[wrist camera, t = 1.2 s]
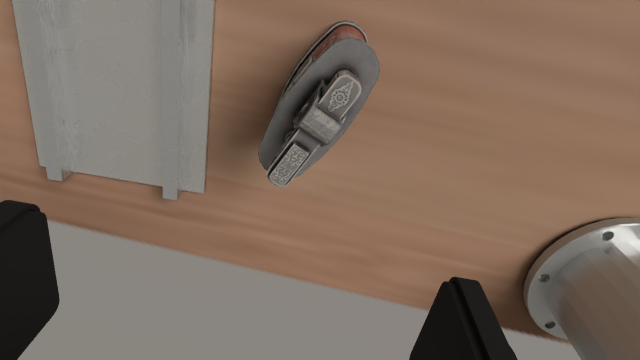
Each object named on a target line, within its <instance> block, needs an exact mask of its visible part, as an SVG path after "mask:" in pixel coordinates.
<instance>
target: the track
mask: <svg viewBox="0 0 640 360" xmlns="http://www.w3.org/2000/svg"><path fill="white" fill-rule="evenodd" d="M12 3H13V9H14V15H15V21H16V27H17V33H18V39H19V45H20V51H21V57H22V63H23V69H24V75H25V81H26V87H27V93H28V98H29V104H30V110H31V116H32V122H33V128H34V134H35V140H36V146H37V152H38V158H39V164H40V166H44V167H46V171H47V177H48V179H51V180H57V181H63V180H65V179H66V178H67V177H69V176H70V175H71V174H72V173H74V172H79V173H85V174H91V175H97V176H103V177H109V178H114V179H120V180H126V181H132V182H138V183H144V184H150V185H156V186H162V187H163V198H165V199H171V200H178V198H179V197H180V195H181V194H182V192H183V191H184V190H185V191H191V192H197V193H203V194H204V193H205V190H206V171H207V152H208V134H209V115H210V97H211V78H212V60H213V41H214V23H215V4H216V0H12Z"/></svg>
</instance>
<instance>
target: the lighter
mask: <svg viewBox="0 0 640 360" xmlns="http://www.w3.org/2000/svg"><path fill="white" fill-rule="evenodd" d="M379 72H380V67H379V61H378V58H377V56H376V54H375V52H374V50H373V49H372V48H371V47H370V46H369V44H368V40H367V37H366V35H365V33H364V31H363V30H362V29H361V28H360V27H359V25H357V24H355V23H353V22H351V21H339V22H337V23H335V24H334V25H332V26H331V27H330V28H329V29H328V30H327V31H326V32H325V33H324V34H323V35H322V36H321V37H320V38H319V39H318V40H317V41H316V42H315V43H314V44H313V45H312V47H311V48H310V49H309V50H308V51H307V53H306V54H305V55H304V56H303V58H302V59H301V60H300V61H299V63H298V64H297V66H296V68H295V69H294V71H293V73H292V74H291V76H290V78H289V79H288V81H287V83H286V85H285V87H284V90H283V92H282V94H281V96H280V99H279V101H278V103H277V106H276V108H275V113H274V115H273V117H272V119H271V121H270V124H269V126H268V128H267V131H266V133H265V135H264V137H263V140H262V142H261V144H260V147H259V152H258V156H259V160H260V163H261V164H262V166H263V167H264V169H266V170H267V173H266V177H267V179H268V180H269V181H270V182H271V183H273V184H274V185H276V186H278V187H285V186H287V185H288V184H289V183H290V182H291V181H292V179H293V178H295V177H297V176H299V175H301V174H302V173H303V172H304V171H306V170H307V169H308V168H309V167H310V166H312V165H313V164H314V163H315V162H316V161H318V160H319V159H320V158H321V157H322V156H323V155H324V154H325V153H326V152H327V151H328V150H329V149H330V148H331V147H332V146H333V145H334V144H335V143H336V142H337V141H338V139H339V138H340V137H341V136H342V135H343V134H344V133H345V131H346V130H347V128H348V127H349V126H350V124H351V123H352V121H353V120H354V118H355V117H356V116H357V114H358V113H359V111H360V110H361V109H362V107H363V105H364V103H365V101H366V99H367V98H368V96H369V94H370V92H371V90H372V88H373V87H374V85H375V83H376V81H377V79H378V76H379Z"/></svg>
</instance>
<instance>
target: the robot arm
mask: <svg viewBox="0 0 640 360" xmlns="http://www.w3.org/2000/svg"><path fill="white" fill-rule="evenodd" d="M523 296H524V302H525V305H526V308H527V310H528V312H529V314H530V315H531V317H532V318H533V320H534V321H535V323H536V324H537V325H538V326H539V327H540V328H541V329H542V330H544V331H545V332H547V333H549V334H551V335H553V336H555V337H558V338H561V339H564V340H569V341H570V343H571V344H572V346H573V347H574V349H575V350H576V352H577V354H578V355H579V357H580V358H581V360H640V218H615V219H608V220H603V221H599V222H596V223H592V224H589V225H586V226H584V227H581V228H579V229H577V230H574V231H572V232H570V233H569V234H567V235H565V236H564V237H562V238H560V239H559V240H557V241H556V242H555V243H553V244H552V245H551V246H550V247H548V248H547V249H546V250H545V251H544V252H543V253H542V254H541V255H540V256H539V258H538V259H537V260H536V261H535V262H534V264H533V266H532V267H531V269H530V270H529V272H528V275H527V277H526V280H525V283H524V291H523ZM58 305H59V293H58V287H57V280H56V275H55V268H54V261H53V255H52V249H51V243H50V236H49V230H48V224H47V218H46V215H45V214H44V213H42V212H40V209H39V207H38V206H37V205H34V204H29V203H23V202H18V201H12V200H5V201H3V202H1V203H0V360H17V359H18V358H19V356H20V355H21V354H22V353H23V352H24V350H25V349H26V348H27V347H28V345H29V344H30V343H31V342H32V341H33V339H34V338H35V337H36V336H37V334H38V333H39V332H40V331H41V330H42V328H43V327H44V326H45V325H46V323H47V322H48V321H49V320H50V319H51V317H52V316H53V315H54V313H55V312H56V310H57V308H58ZM409 360H517V358H516V355H515V353H514V352H513V350H512V349H511V347H510V346H509V344H508V342H507V340H506V338H505V336H504V334H503V331H502V329H501V327H500V325H499V323H498V321H497V319H496V317H495V314H494V312H493V310H492V308H491V306H490V304H489V302H488V300H487V297H486V295H485V293H484V291H483V289H482V287H481V285H480V283H479V282H478V281H476V280H470V279H464V278H459V277H452V278H451V279H450V280H449V282H446V281H445V282H443V283H442V285H441V287H440V289H439V291H438V293H437V296H436V298H435V300H434V302H433V305H432V307H431V309H430V311H429V314H428V316H427V318H426V320H425V323H424V325H423V327H422V330H421V332H420V334H419V336H418V338H417V341H416V343H415V345H414V347H413V350H412V352H411V355H410V359H409Z"/></svg>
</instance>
